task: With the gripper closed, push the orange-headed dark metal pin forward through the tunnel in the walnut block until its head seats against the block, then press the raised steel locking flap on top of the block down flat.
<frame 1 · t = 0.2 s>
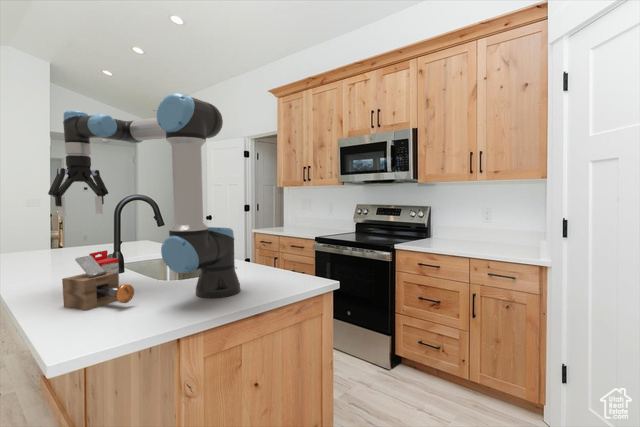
hand: (81, 214, 131), 28 cm above the counter, fingers open, 13 cm apart
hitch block: (92, 303, 117), on the counter
ink box: (105, 293, 129), on the counter
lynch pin: (113, 292, 113), point 4 cm above the counter, slide at 0.0 cm
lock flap: (90, 266, 116), point 12 cm above the counter, hinge at 40.0°
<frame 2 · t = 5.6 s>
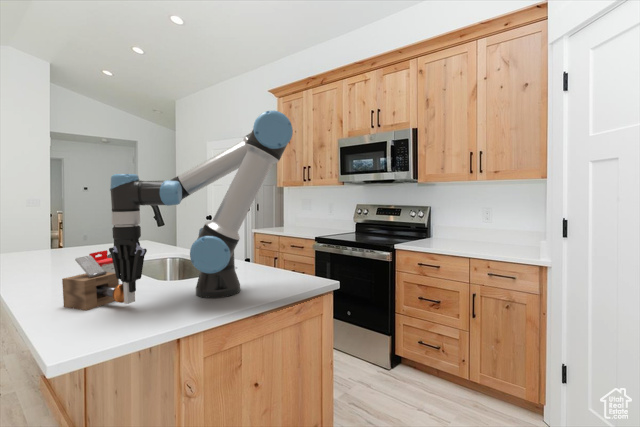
hand: (129, 302, 110), 2 cm above the counter, fingers closed
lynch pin: (110, 291, 113), point 4 cm above the counter, slide at 1.2 cm, touching gripper
everything else where it was.
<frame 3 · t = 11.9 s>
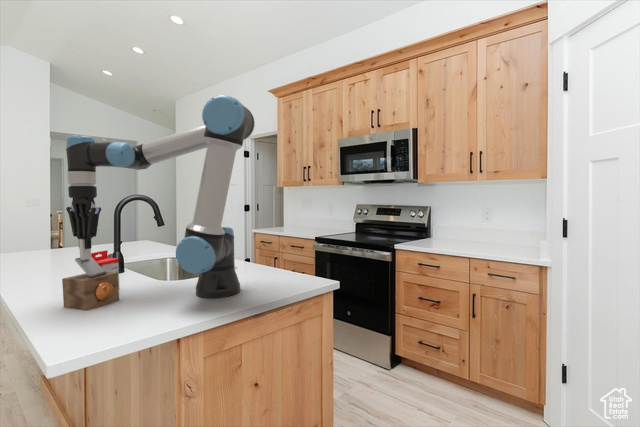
hand: (85, 258, 116), 14 cm above the counter, fingers closed
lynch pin: (92, 289, 116), point 4 cm above the counter, slide at 9.0 cm, touching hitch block
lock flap: (90, 266, 116), point 12 cm above the counter, hinge at 38.5°, touching gripper
everything else where it was.
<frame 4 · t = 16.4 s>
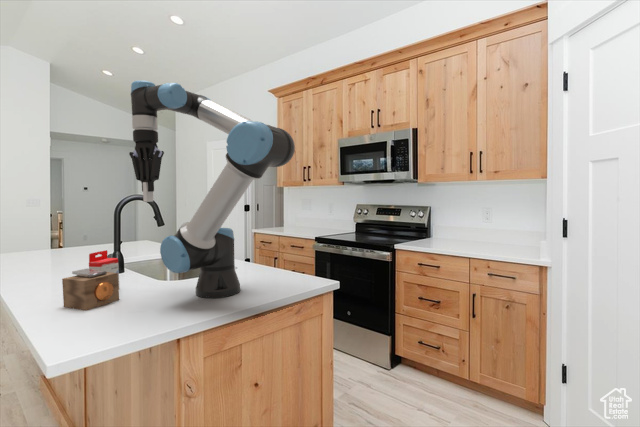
hand: (148, 201, 121), 32 cm above the counter, fingers closed
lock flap: (89, 272, 116), point 10 cm above the counter, hinge at 4.1°
everything else where it was.
at the end: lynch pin slide at 9.0 cm; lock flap at +4° (first picture: +40°) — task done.
